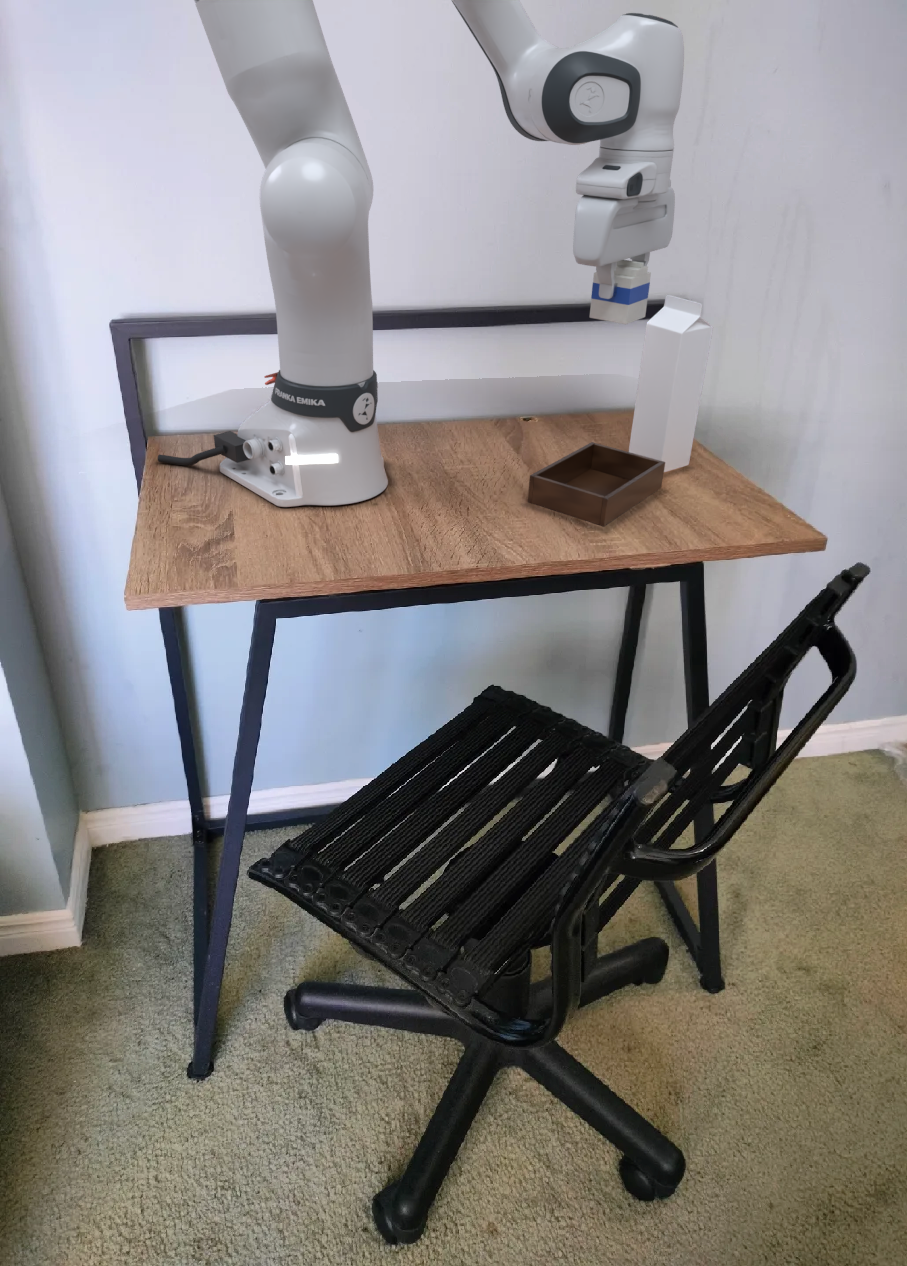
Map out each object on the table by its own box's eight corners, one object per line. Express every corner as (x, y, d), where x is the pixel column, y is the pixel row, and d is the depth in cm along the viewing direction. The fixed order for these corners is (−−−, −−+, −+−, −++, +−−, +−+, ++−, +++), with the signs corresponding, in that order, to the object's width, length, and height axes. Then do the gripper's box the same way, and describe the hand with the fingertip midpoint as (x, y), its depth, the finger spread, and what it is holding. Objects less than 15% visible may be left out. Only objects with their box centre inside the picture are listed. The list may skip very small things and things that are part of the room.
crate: (527, 505, 113) (529, 475, 111) (588, 470, 124) (591, 441, 122) (603, 530, 108) (607, 499, 106) (660, 491, 119) (665, 461, 116)
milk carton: (589, 317, 120) (594, 259, 117) (609, 310, 124) (615, 254, 120) (626, 324, 118) (633, 265, 114) (645, 316, 121) (653, 259, 118)
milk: (659, 477, 123) (686, 306, 111) (626, 462, 127) (648, 296, 115) (689, 467, 126) (718, 300, 114) (656, 453, 130) (681, 291, 118)
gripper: (648, 166, 121) (635, 277, 128) (568, 178, 107) (558, 302, 114) (693, 170, 117) (676, 284, 125) (616, 183, 103) (603, 310, 111)
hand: (619, 293), depth 119 cm, fingers closed on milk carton, 5 cm apart
